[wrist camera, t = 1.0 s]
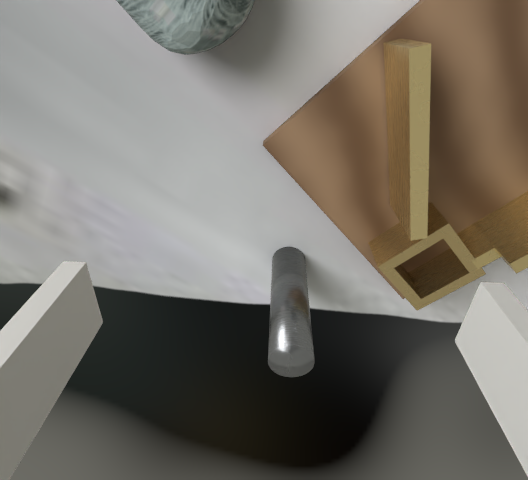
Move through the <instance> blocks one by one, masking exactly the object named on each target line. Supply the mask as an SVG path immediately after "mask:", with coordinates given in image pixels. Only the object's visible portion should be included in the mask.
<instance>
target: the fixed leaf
mask: <svg viewBox="0 0 528 480" xmlns="http://www.w3.org/2000/svg"><path fill="white" fill-rule="evenodd" d="M442 239H444V240H445V241H446V243H447V244H448V245H449V247H450V248H449V249H448V250H446V251H444V252H443V253H441V254H439V255H437V256H436V257H434V258H432V259H431V260H429V261H427V262H426V263H424V264H422V265H420V266H419V267H417V268H415V269H414V270H412V271H410V272H407V271H406V270H405V268H404V267H403V266H402V265H401V264H402V263H403V262H405V261H407V260H408V259H410V258H412V257H413V256H415V255H417V254H418V253H420V252H422V251H423V250H425V249H427V248H428V247H430V246H432V245H433V244H435V243H437V242H438V241H440V240H442ZM368 243H369V246H370V249H371V251H372V254H373V256H374V259H375V262H376V264H377V267H378V268H379V269H380V270H381V271H382V273H383V274H384V275H385V276H386V277H387V278H388V279H389V280H390V281H391V282H392V284H393V285H394V286H395V287H396V288H397V289H398V290H399V291H400V292H401V293H402V295H403V296H404V297H405V298H406V299H407V300H408V301H409V302H410V303H411V305H412V306H413V307H414V308H415V309H416V310H419V309H421V308H423V307H425V306H427V305H429V304H430V303H432V302H434V301H436V300H438V299H440V298H442V297H444V296H445V295H447V294H449V293H451V292H453V291H455V290H457V289H459V288H460V287H462V286H464V285H466V284H468V283H470V282H472V281H474V280H475V279H477V278H479V277H481V276H483V275H485V274H486V273H485V272H484V270H483V269H482V268H481V267H483V266H485V265H487V264H489V263H490V262H492V261H494V260H496V259H498V258H500V257H502V258H503V259H504V260H505V262H506V263H507V264H508V265H509V266H510V267H511V268H512V269H513V270H514V271H515V272H516V273H518V272H520V271H522V270H524V269H526V268H528V191H527V192H525V193H524V194H522V195H520V196H519V197H517V198H515V199H514V200H512V201H510V202H509V203H507V204H505V205H504V206H502V207H500V208H499V209H497V210H495V211H494V212H492V213H490V214H489V215H487V216H485V217H484V218H482V219H480V220H478V221H477V222H475V223H473V224H472V225H470V226H468V227H467V228H465V229H463V230H462V231H460V232H458V233H457V234H456V232H455V231H454V230H453V228H452V227H451V226H450V224H449V223H448V222H447V220H446V219H445V218H444V217H443V216H442V214H441V213H440V212H439V211H438V209H437V208H436V207H435V206H434V204H433V203H432V202H430V203H428V231H427V238H425V239H418V240H412V241H410V239H409V237H408V235H407V234H406V232H405V230H404V228H403V227H402V225H401V223H400V222H399V223H397V224H396V225H394V226H393V227H391V228H390V229H388V230H387V231H385V232H384V233H382V234H381V235H379V236H377V237H376V238H374V239H373V240H371V241H370V242H368Z"/></svg>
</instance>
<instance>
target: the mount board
mask: <svg viewBox="0 0 528 480" xmlns="http://www.w3.org/2000/svg"><path fill="white" fill-rule="evenodd" d="M397 39H407V40H414V41H420V42H426V43H431V83H430V132H429V181H428V203H430V202H432V203H433V204H434V206H435V207H436V208H437V209H438V211H439V212H440V213H441V214H442V216H443V217H444V218H445V219H446V220H447V222H448V223H449V224H450V226H451V227H452V228H453V230H454V231H455V232H456V234H457V233H458V232H460V231H462V230H463V229H465V228H467V227H468V226H470V225H472V224H473V223H475V222H477V221H478V220H480V219H482V218H484V217H485V216H487V215H489V214H490V213H492V212H494V211H495V210H497V209H499V208H500V207H502V206H504V205H505V204H507V203H509V202H510V201H512V200H514V199H515V198H517V197H519V196H520V195H522V194H524V193H525V192H527V191H528V0H420V1H419V2H418V3H417V4H416V5H414V6H413V7H412V8H411V9H410V10H409V11H408V12H407V13H406V14H404V15H403V16H402V17H401V18H400V19H399V20H398V21H397V22H396V23H394V24H393V25H392V26H391V27H390V28H389V29H388V30H387V31H386V32H384V33H383V34H382V35H381V36H380V37H379V38H378V39H377V40H376V41H374V42H373V43H372V44H371V45H370V46H369V47H368V48H367V49H365V50H364V51H363V52H362V53H361V54H360V55H359V56H358V57H357V58H355V59H354V60H353V61H352V62H351V63H350V64H349V65H348V66H347V67H345V68H344V69H343V70H342V71H341V72H340V73H339V74H338V75H337V76H335V77H334V78H333V79H332V80H331V81H330V82H329V83H328V84H327V85H325V86H324V87H323V88H322V89H321V90H320V91H319V92H318V93H317V94H315V95H314V96H313V97H312V98H311V99H310V100H309V101H308V102H307V103H305V104H304V105H303V106H302V107H301V108H300V109H299V110H298V111H297V112H295V113H294V114H293V115H292V116H291V117H290V118H289V119H288V120H287V121H285V122H284V123H283V124H282V125H281V126H280V127H279V128H278V129H276V130H275V131H274V132H273V133H272V134H271V135H270V136H269V137H268V138H266V139H265V140H264V141H263V146H264V147H265V148H266V149H267V150H268V152H269V153H270V154H271V155H272V156H273V157H274V158H275V159H276V160H277V161H278V163H279V164H280V165H281V166H282V167H283V168H284V169H285V170H286V171H287V172H288V173H289V175H290V176H291V177H292V178H293V179H294V180H295V181H296V182H297V183H298V184H299V186H300V187H301V188H302V189H303V190H304V191H305V192H306V193H307V194H308V195H309V197H310V198H311V199H312V200H313V201H314V202H315V203H316V204H317V205H318V206H319V207H320V209H321V210H322V211H323V212H324V213H325V214H326V215H327V216H328V217H329V218H330V220H331V221H332V222H333V223H334V224H335V225H336V226H337V227H338V228H339V229H340V230H341V232H342V233H343V234H344V235H345V236H346V237H347V238H348V239H349V240H350V241H351V243H352V244H353V245H354V246H355V247H356V248H357V249H358V250H359V251H360V252H361V253H362V255H363V256H364V257H365V258H366V259H367V260H368V261H369V262H370V263H371V264H372V266H373V267H374V268H375V269H376V270H377V271H378V272H379V273H380V274H381V275H382V277H383V278H384V279H385V280H386V281H387V282H388V283H389V284H390V285H391V286H392V287H393V289H394V290H395V291H396V292H397V293H398V294H399V295H400V296H401V297H402V298H403V299H404V298H405V297H404V296H403V295H402V293H401V292H400V291H399V290H398V289H397V288H396V287H395V286H394V285H393V284H392V282H391V281H390V280H389V279H388V278H387V277H386V276H385V275H384V274H383V273H382V271H381V270H380V269H379V268H378V267H377V264H376V262H375V259H374V256H373V254H372V251H371V249H370V246H369V243H368V242H370V241H371V240H373V239H374V238H376V237H377V236H379V235H381V234H382V233H384V232H385V231H387V230H388V229H390V228H391V227H393V226H394V225H396V224H397V223H399V222H400V221H399V220H398V218H397V216H396V215H395V213H394V211H393V209H392V208H391V206H390V190H389V166H388V141H387V116H386V92H385V67H384V42H388V41H392V40H397ZM449 248H450V247H449V245H448V244H447V243H446V241H445V240H444V239H442V240H440V241H438V242H437V243H435V244H433V245H432V246H430V247H428V248H427V249H425V250H423V251H422V252H420V253H418V254H417V255H415V256H413V257H412V258H410V259H408V260H407V261H405V262H403V263H402V264H401V265H402V266H403V267H404V268H405V270H406V271H407V272H410V271H412V270H414V269H415V268H417V267H419V266H420V265H422V264H424V263H426V262H427V261H429V260H431V259H432V258H434V257H436V256H437V255H439V254H441V253H443V252H444V251H446V250H448V249H449Z"/></svg>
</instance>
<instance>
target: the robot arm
mask: <svg viewBox="0 0 528 480" xmlns="http://www.w3.org/2000/svg"><path fill="white" fill-rule="evenodd" d="M102 323H103V320H102V317H101V314H100V310H99V306H98V303H97V300H96V296H95V293H94V289H93V285H92V282H91V278H90V275H89V271H88V268H87V264H86V262H68V261H63V262H62V263H61V265H60V266H59V267H58V268H57V269H56V270H55V271H54V272H53V273H52V274H51V276H50V277H49V278H48V279H47V280H46V281H45V282H44V283H43V284H42V285H41V287H40V288H39V289H38V290H37V291H36V292H35V293H34V294H33V296H31V298H30V299H29V300H28V301H27V302H26V303H25V304H24V305H23V306H22V308H21V309H20V310H19V311H18V312H17V313H16V314H15V315H14V316H13V317H12V319H11V320H10V321H9V322H8V323H7V324H6V325H5V326H4V327H3V328H2V330H1V331H0V480H9V479H10V478H11V476H12V474H13V473H14V471H15V469H16V468H17V466H18V464H19V462H20V461H21V459H22V458H23V456H24V454H25V452H26V451H27V449H28V447H29V446H30V444H31V443H32V441H33V439H34V437H35V436H36V434H37V432H38V431H39V429H40V427H41V426H42V424H43V422H44V421H45V419H46V417H47V416H48V414H49V412H50V411H51V409H52V407H53V405H54V404H55V402H56V400H57V399H58V397H59V395H60V393H61V392H62V390H63V389H64V387H65V385H66V384H67V382H68V380H69V378H70V376H71V375H72V373H73V372H74V370H75V368H76V367H77V365H78V363H79V362H80V360H81V358H82V357H83V355H84V353H85V352H86V350H87V348H88V346H89V345H90V343H91V341H92V340H93V338H94V336H95V335H96V333H97V331H98V330H99V328H100V326H101V324H102ZM455 342H456V344H457V346H458V348H459V350H460V352H461V353H462V355H463V357H464V359H465V361H466V363H467V365H468V367H469V369H470V370H471V372H472V374H473V376H474V378H475V380H476V381H477V383H478V385H479V387H480V389H481V391H482V393H483V394H484V396H485V398H486V400H487V402H488V404H489V406H490V407H491V409H492V411H493V413H494V415H495V417H496V419H497V421H498V422H499V424H500V426H501V428H502V430H503V432H504V434H505V435H506V437H507V439H508V441H509V443H510V445H511V447H512V448H513V450H514V452H515V454H516V456H517V458H518V460H519V462H520V463H521V465H522V467H523V469H524V471H525V473H526V474H527V476H528V311H527V309H526V308H525V307H524V306H523V305H522V303H521V302H520V301H519V300H518V299H517V298H516V296H515V295H514V294H513V293H512V292H511V290H510V289H509V288H508V287H507V286H506V285H505V283H494V282H480V284H479V287H478V289H477V291H476V293H475V296H474V298H473V300H472V302H471V305H470V307H469V309H468V311H467V314H466V316H465V318H464V321H463V323H462V325H461V327H460V330H459V332H458V334H457V336H456V339H455Z"/></svg>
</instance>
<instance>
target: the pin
mask: <svg viewBox="0 0 528 480" xmlns="http://www.w3.org/2000/svg"><path fill="white" fill-rule="evenodd" d="M268 364H269V367H270V368H271V369H272V370H273V371H274V372H275V373H277V374H279V375H281V376H286V377H298V376H302V375H304V374H306V373H308V372H309V371H310V370H311V369H312V368H313V366H314V353H313V341H312V331H311V320H310V309H309V298H308V287H307V276H306V266H305V257H304V255H303V253H302V252H301V251H300V250H298V249H296V248H293V247H284V248H281V249H279V250H278V251H276V252H275V254H274V256H273V259H272V281H271V305H270V330H269V354H268Z"/></svg>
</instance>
